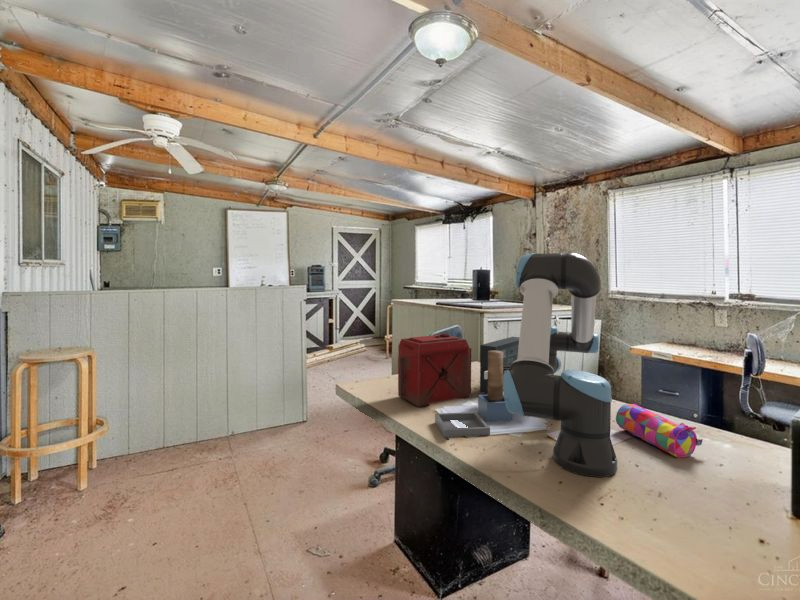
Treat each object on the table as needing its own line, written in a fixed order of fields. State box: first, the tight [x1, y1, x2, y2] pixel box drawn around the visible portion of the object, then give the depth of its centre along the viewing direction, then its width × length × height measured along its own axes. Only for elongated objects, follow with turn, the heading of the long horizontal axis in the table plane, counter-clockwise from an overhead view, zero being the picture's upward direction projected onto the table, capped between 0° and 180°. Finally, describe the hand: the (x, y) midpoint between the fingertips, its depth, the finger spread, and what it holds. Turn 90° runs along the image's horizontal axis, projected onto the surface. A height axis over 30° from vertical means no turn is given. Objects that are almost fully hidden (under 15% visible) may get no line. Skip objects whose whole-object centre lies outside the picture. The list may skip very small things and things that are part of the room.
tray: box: [434, 411, 491, 441], centre depth 124 cm, size 14×14×3 cm
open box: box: [477, 393, 514, 422], centre depth 133 cm, size 9×9×7 cm
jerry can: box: [397, 333, 472, 408], centre depth 155 cm, size 30×16×25 cm, turn 118°
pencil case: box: [615, 403, 703, 459], centre depth 113 cm, size 22×9×9 cm, turn 15°
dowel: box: [487, 351, 504, 402], centre depth 132 cm, size 5×5×22 cm
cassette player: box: [479, 336, 520, 394], centre depth 172 cm, size 29×7×20 cm, turn 138°
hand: (501, 379), depth 135 cm, fingers open, 13 cm apart
